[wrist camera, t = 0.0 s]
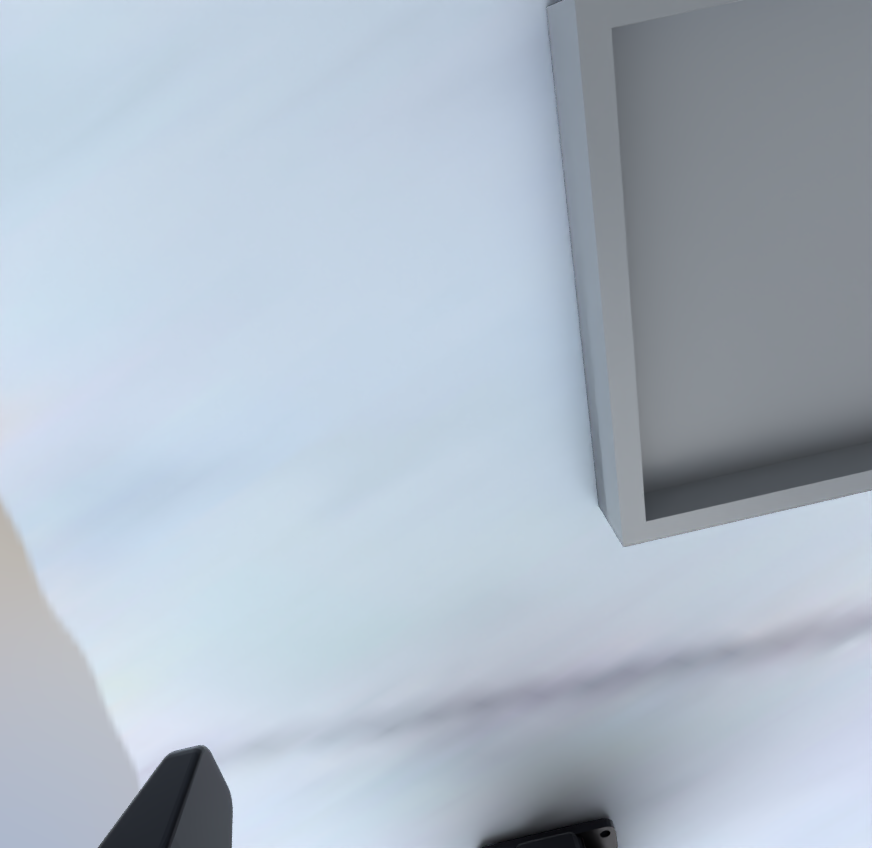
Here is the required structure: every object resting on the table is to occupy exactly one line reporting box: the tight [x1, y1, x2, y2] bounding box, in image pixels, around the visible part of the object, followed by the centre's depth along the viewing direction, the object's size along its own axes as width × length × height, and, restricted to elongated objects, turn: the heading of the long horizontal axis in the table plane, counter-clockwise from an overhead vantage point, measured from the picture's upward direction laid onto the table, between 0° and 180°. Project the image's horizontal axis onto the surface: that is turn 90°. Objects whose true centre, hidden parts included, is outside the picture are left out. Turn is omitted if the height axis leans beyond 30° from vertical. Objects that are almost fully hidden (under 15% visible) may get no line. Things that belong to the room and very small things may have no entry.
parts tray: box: [546, 0, 872, 547], centre depth 21 cm, size 16×16×2 cm
